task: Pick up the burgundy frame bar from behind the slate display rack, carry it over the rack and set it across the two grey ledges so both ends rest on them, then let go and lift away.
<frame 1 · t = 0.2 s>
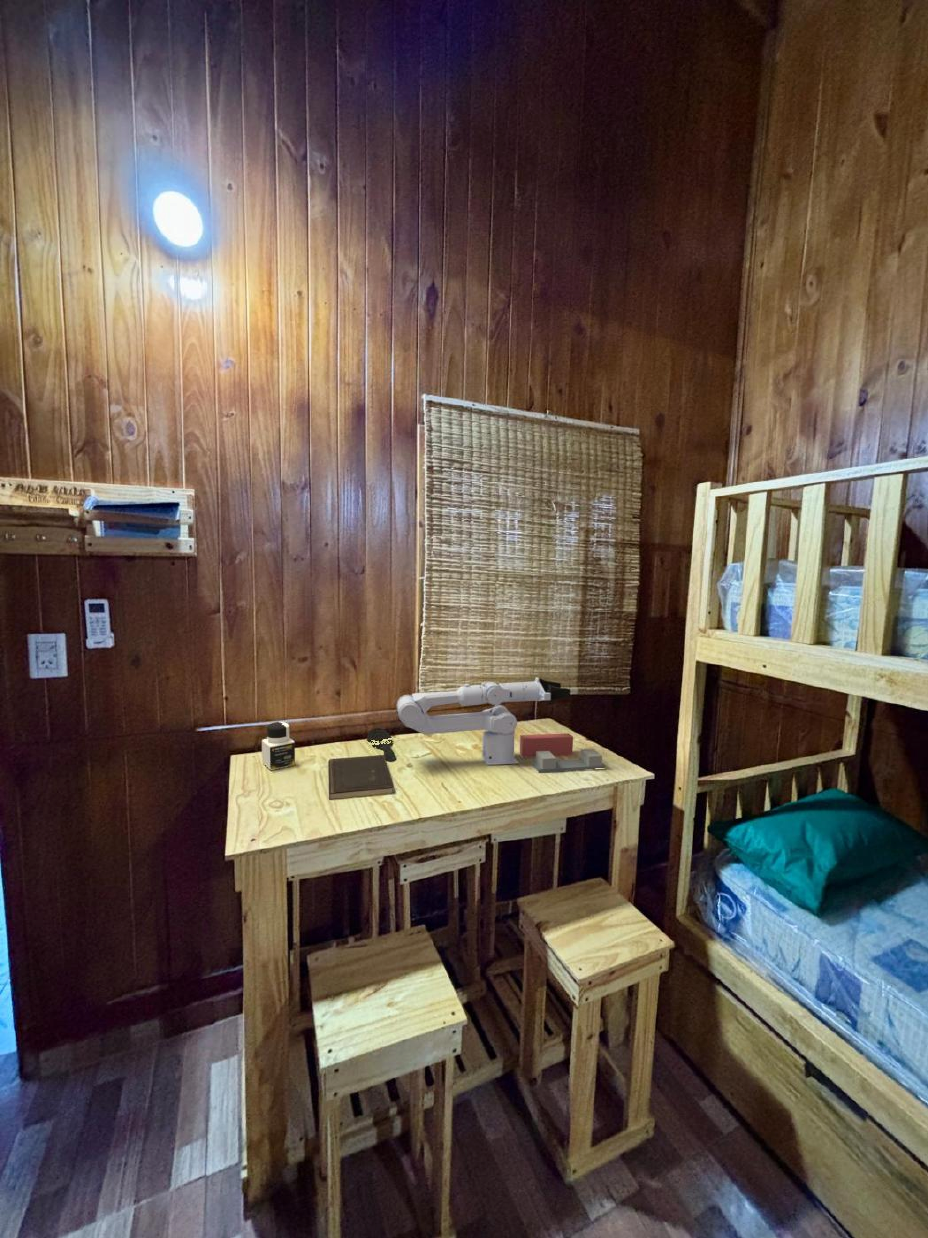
hand: (565, 689, 156), 21 cm above the table, tool horizontal, fingers open, 7 cm apart
medicine bottle: (278, 765, 148), on the table
display rack: (568, 766, 150), on the table
hairbrush: (383, 749, 163), on the table
hardcover book: (359, 781, 139), on the table
frame bar: (545, 754, 160), on the table
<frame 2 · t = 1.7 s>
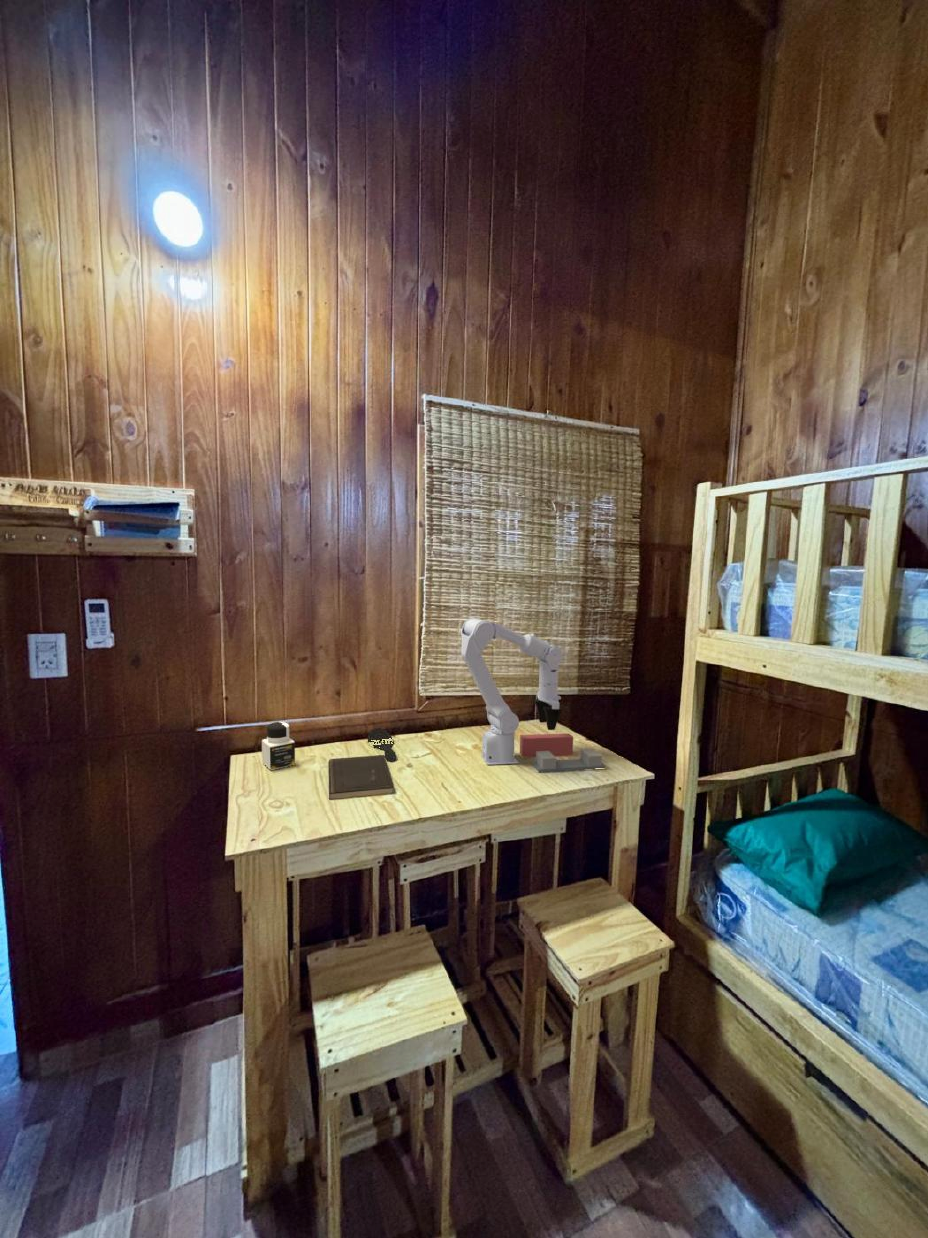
hand: (547, 725, 159), 9 cm above the table, tool pointing down, fingers open, 7 cm apart
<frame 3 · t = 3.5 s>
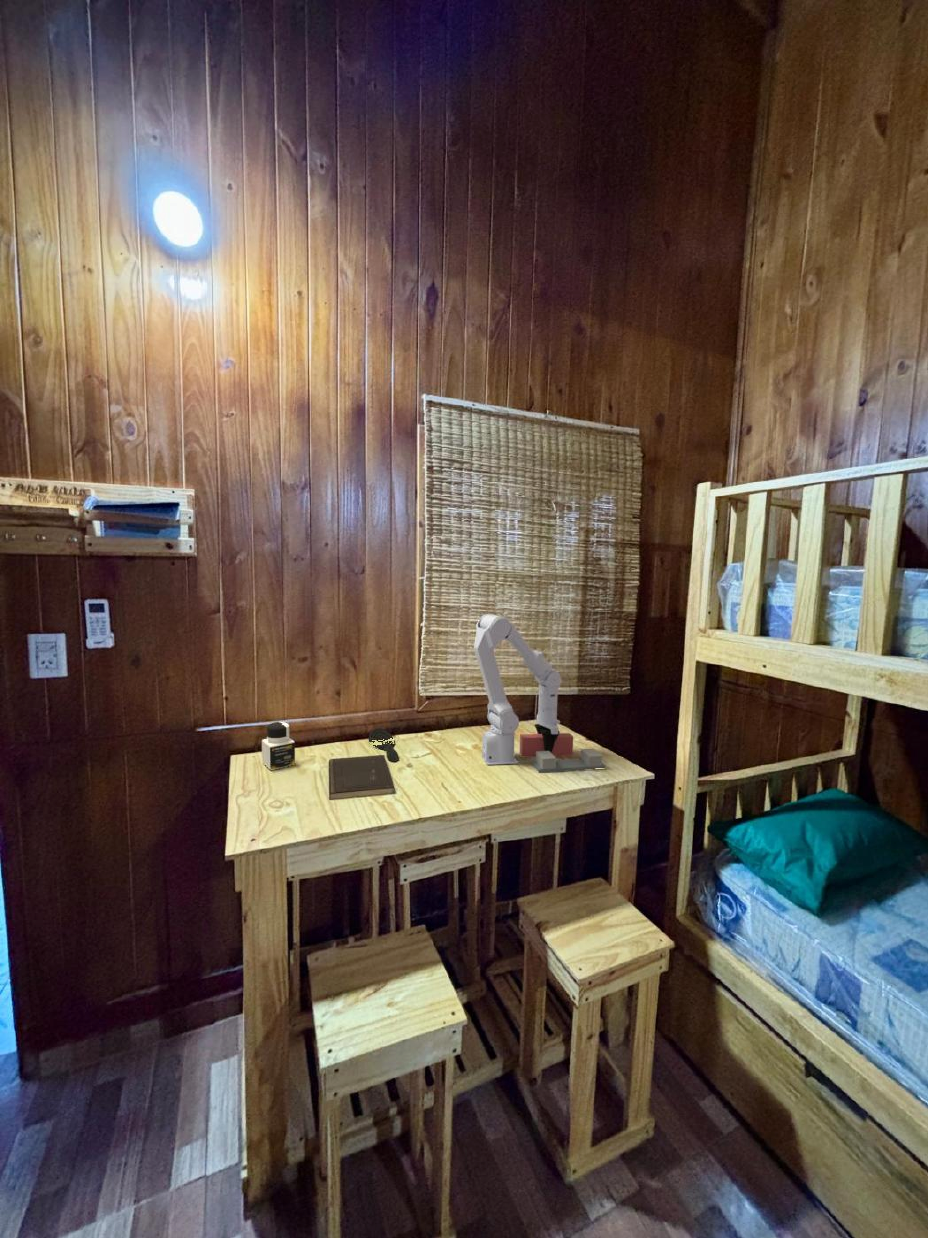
hand: (546, 749, 160), 1 cm above the table, tool pointing down, fingers closed on frame bar, 4 cm apart
frame bar: (545, 754, 160), on the table, touching gripper
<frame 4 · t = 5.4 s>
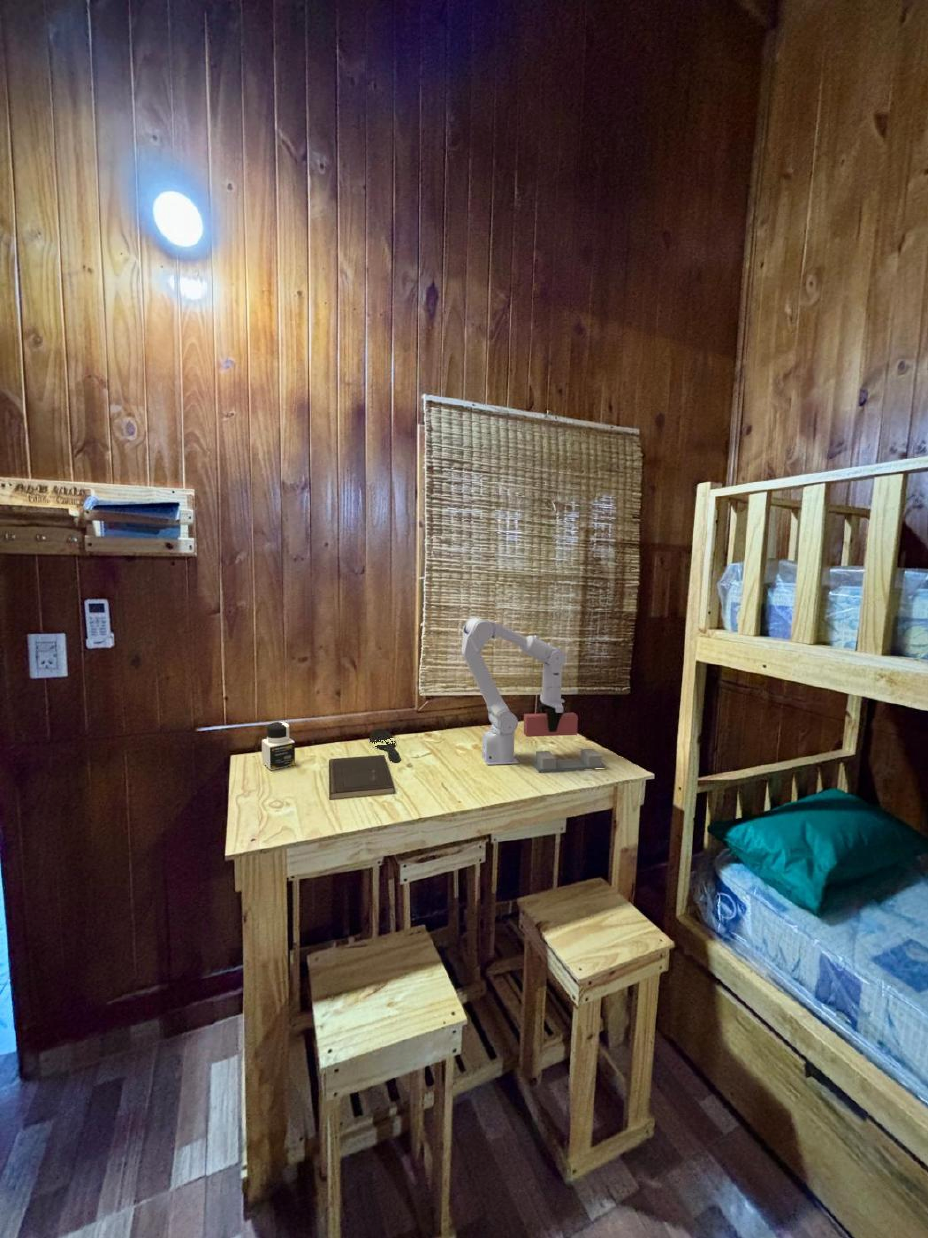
hand: (550, 729, 157), 8 cm above the table, tool pointing down, fingers closed on frame bar, 4 cm apart
frame bar: (550, 734, 158), point 7 cm above the table, touching gripper
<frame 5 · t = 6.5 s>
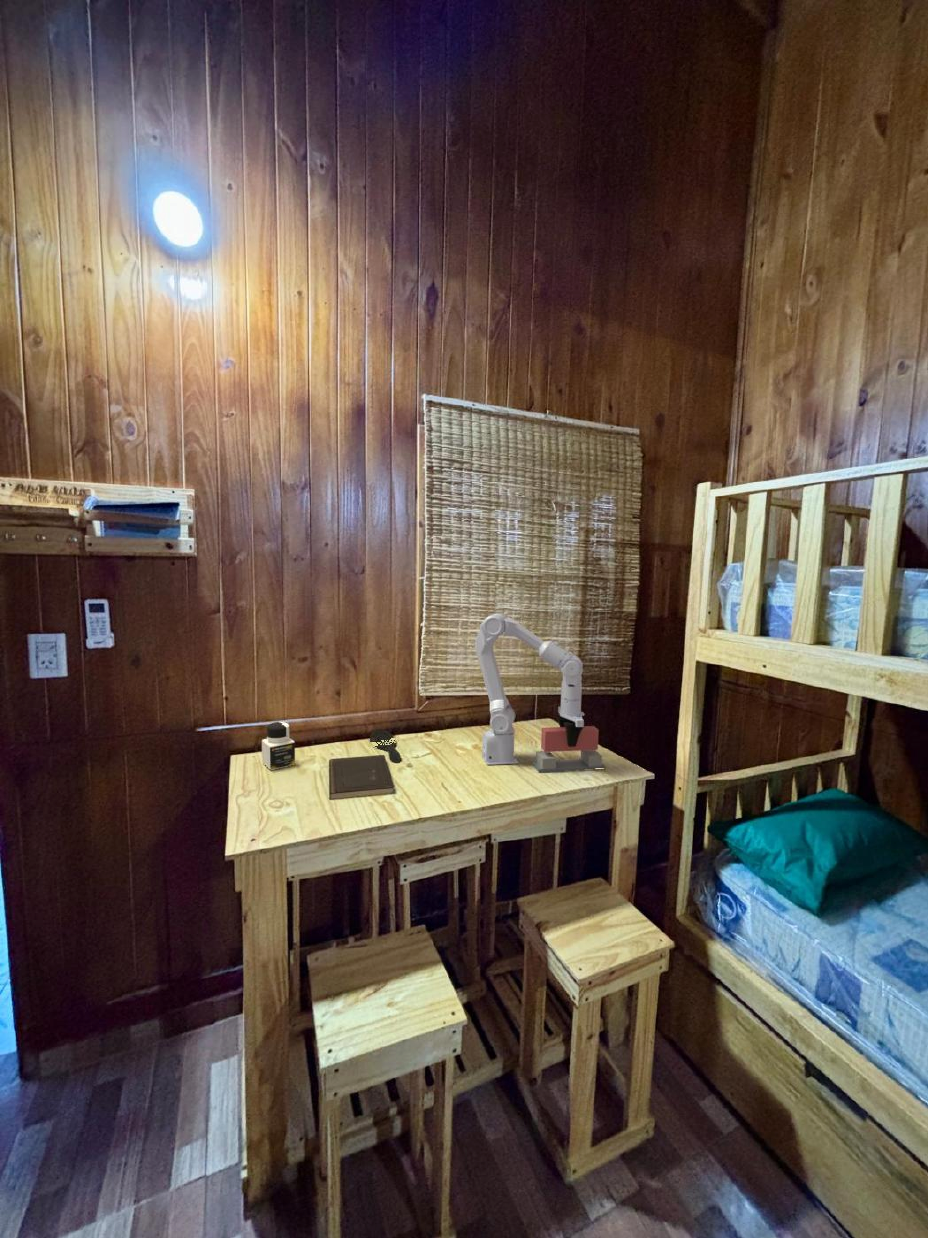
hand: (569, 744, 149), 7 cm above the table, tool pointing down, fingers closed on frame bar, 3 cm apart
frame bar: (569, 748, 149), point 5 cm above the table, touching gripper
when the fingers open (7 cm above the table, at t = 7.2 s): frame bar drops 1 cm, resting on display rack.
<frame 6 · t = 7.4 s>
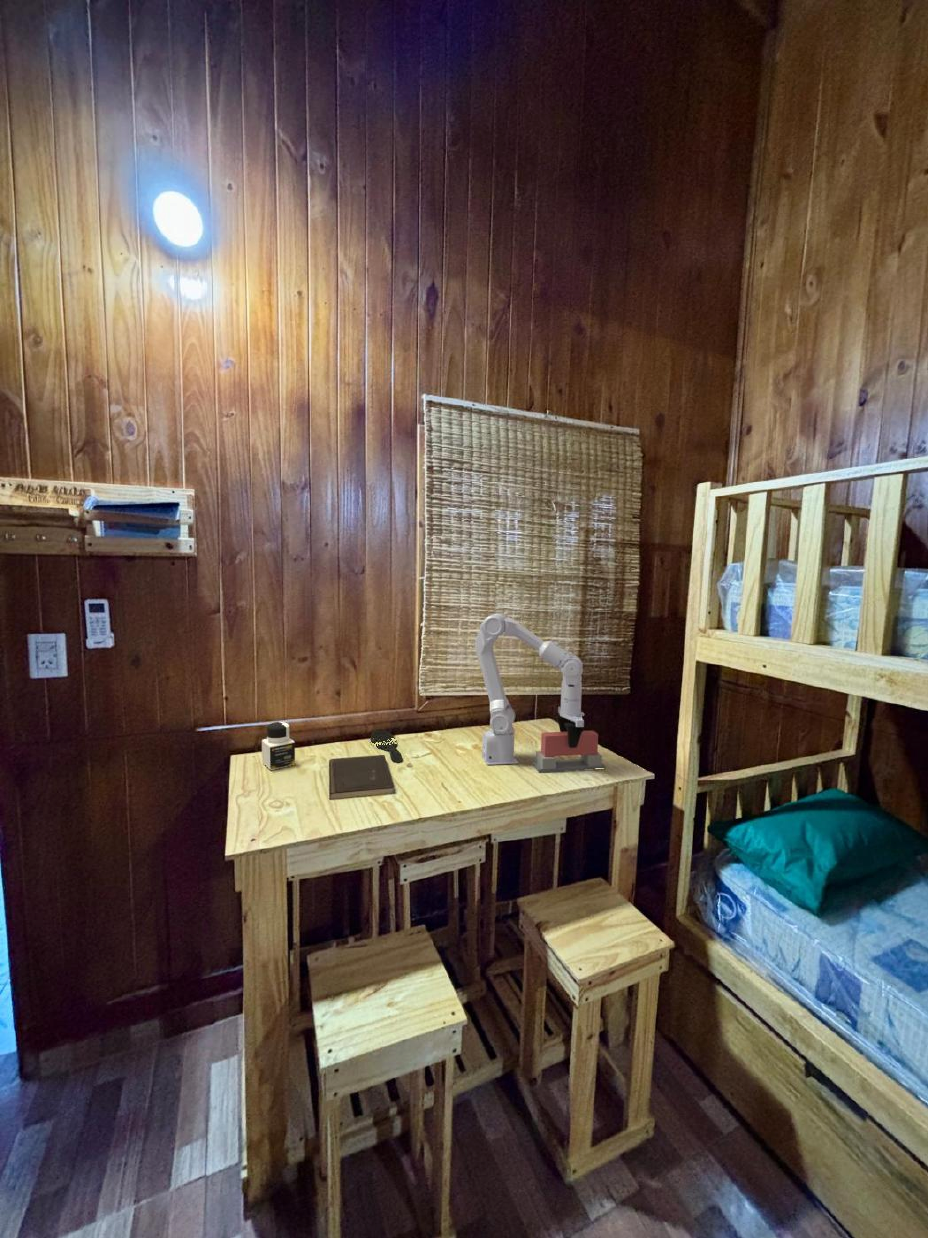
hand: (569, 744, 149), 7 cm above the table, tool pointing down, fingers open, 5 cm apart
frame bar: (569, 753, 149), point 4 cm above the table, touching display rack
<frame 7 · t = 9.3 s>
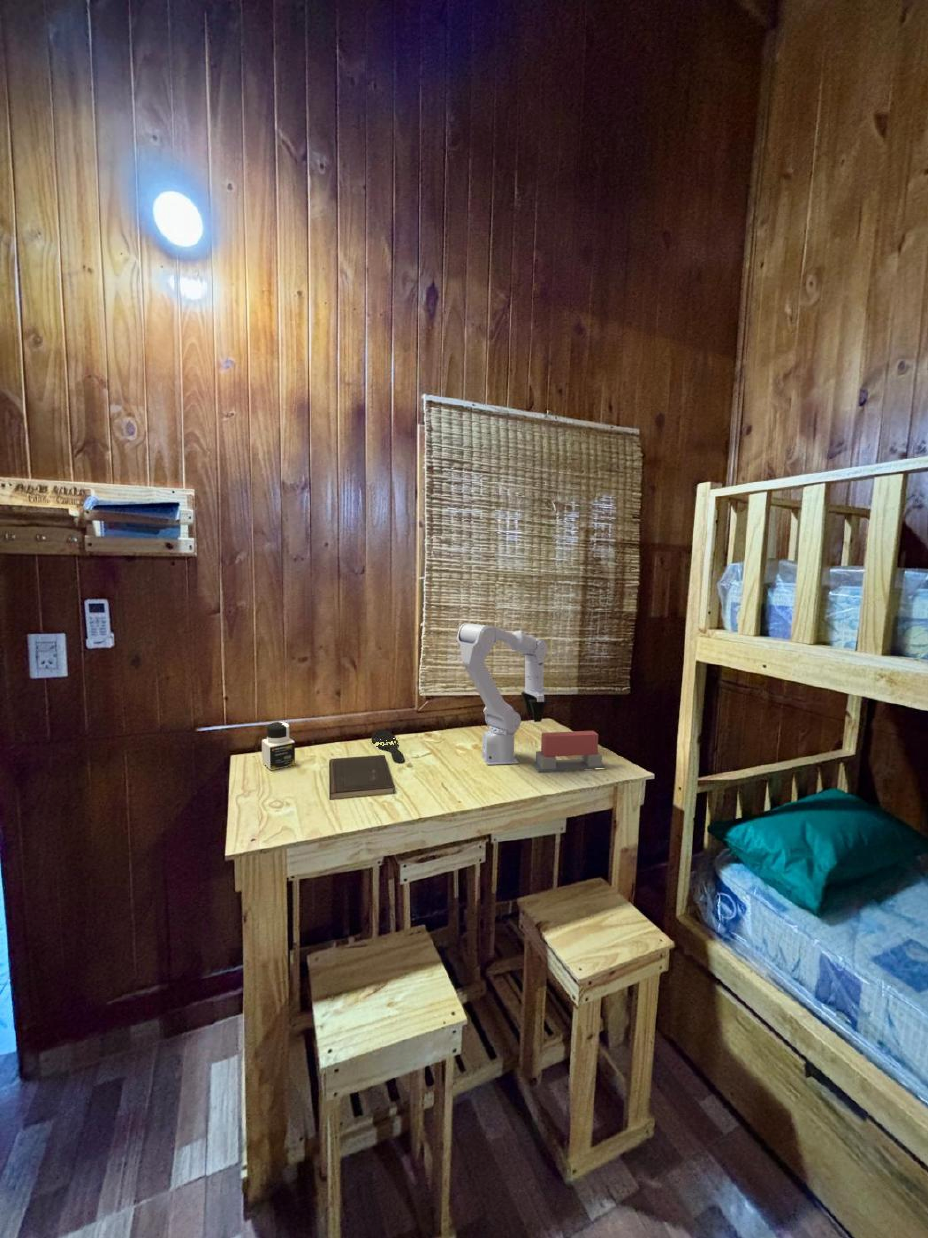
hand: (534, 717, 162), 10 cm above the table, tool pointing down, fingers open, 7 cm apart
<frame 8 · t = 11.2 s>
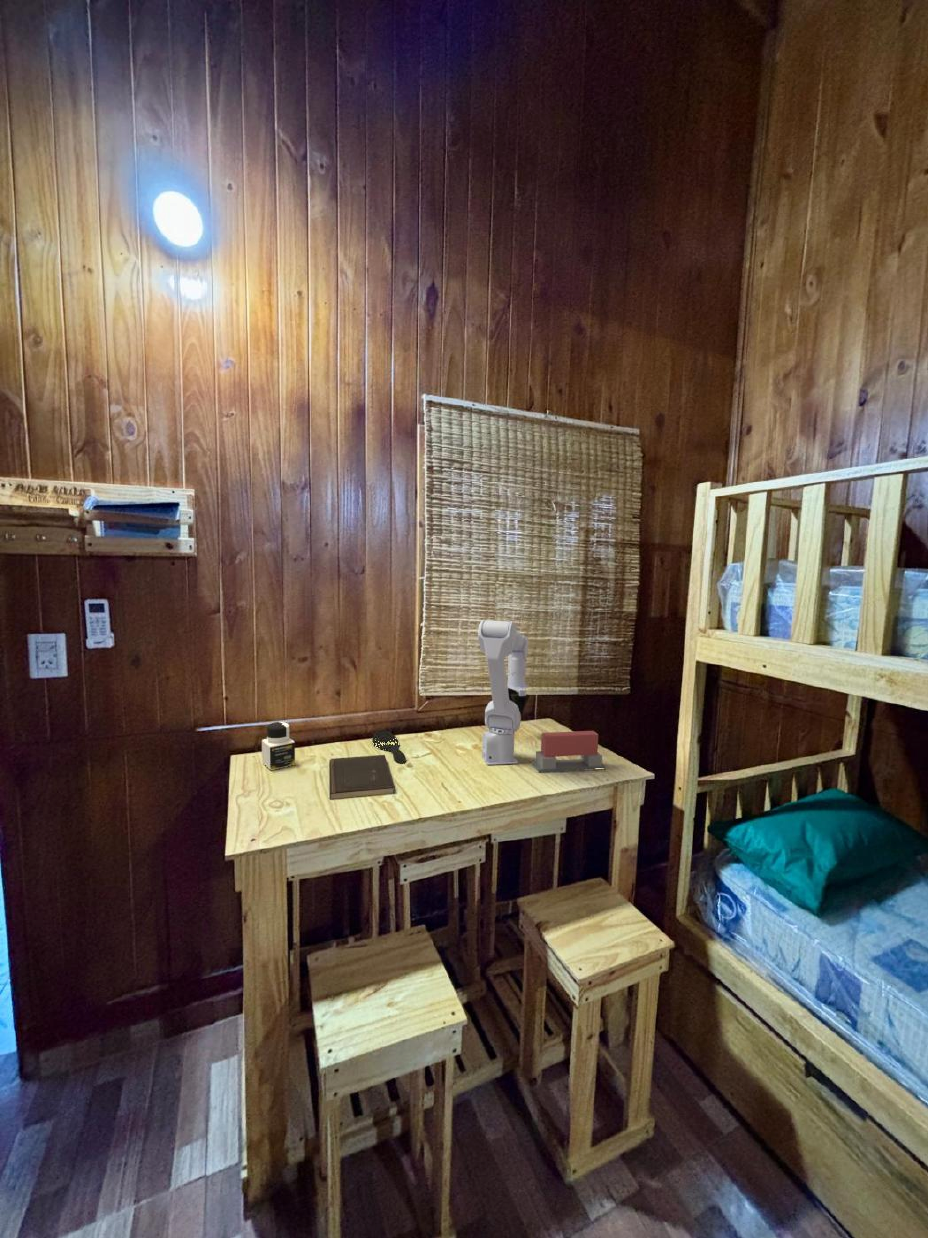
hand: (515, 712, 168), 10 cm above the table, tool pointing down, fingers open, 7 cm apart
at the end: frame bar 0.1 cm off-centre on the display rack, point 4.0 cm above the display rack's base; frame bar tilted 0°; the gripper is holding nothing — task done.
